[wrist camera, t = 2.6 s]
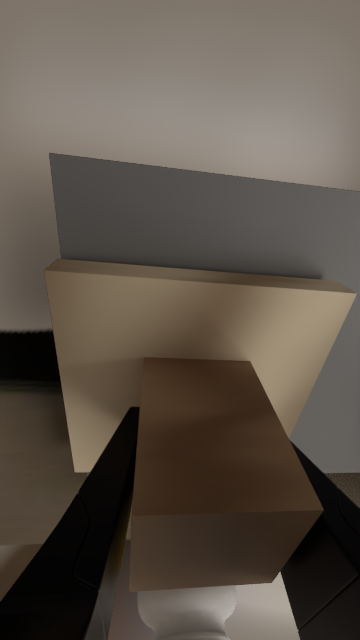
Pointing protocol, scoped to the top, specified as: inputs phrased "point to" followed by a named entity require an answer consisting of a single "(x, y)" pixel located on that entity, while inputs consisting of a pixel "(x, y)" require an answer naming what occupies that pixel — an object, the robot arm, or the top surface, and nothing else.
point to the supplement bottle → (188, 612)
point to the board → (229, 256)
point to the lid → (197, 407)
